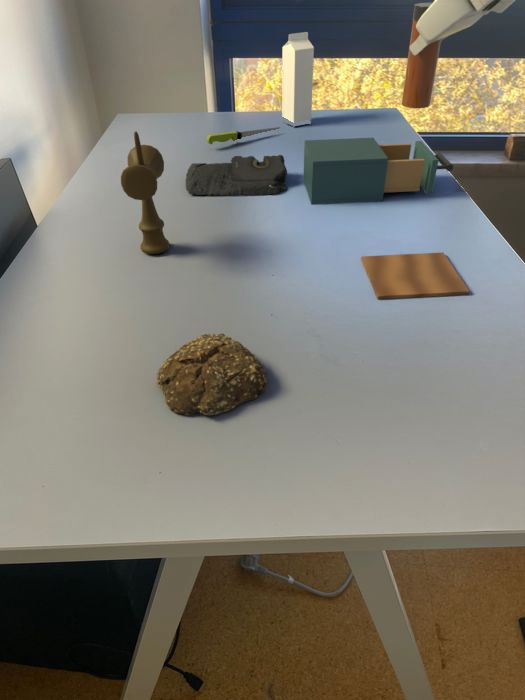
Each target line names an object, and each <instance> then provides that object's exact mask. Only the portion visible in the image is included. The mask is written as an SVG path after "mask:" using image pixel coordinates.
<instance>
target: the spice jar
mask: <svg viewBox="0 0 525 700" xmlns="http://www.w3.org/2000/svg"><path fill="white" fill-rule="evenodd" d="M432 3H433V2H420V3H414V5H413V11H412V23H411V30H410V38H409V40H410V41H409V46H408V53H407V59H406V60H407V61H406V67H405V74H404V75H405V76H404V83H403V91H402V95H401V96H402V98H401V106H402V107H405V108H408V109H426V108H428V107H430V106H431V103H432V98H433V97H432V96H433V91H434V85H435V79H436V73H437V67H438V62H439V57H440V56H439V55H440V49H441V44H442V41H441V39H440V40H437V41H435V42H433V43H431V44H429V45H428V46H427V47H426V48H425V49H424V50H423V51H422V52H421V53H420V54H418V55H413V53H412V52H411V50H410V46H411V45H412V44H413V43H414V42H415V41H416V40H417V38H418V37H419V35H420V33H419V32H418V30H417V28H416V24H417V22H418V20H419V19H420V17H421V16H422V15H423V14H424V12H425V11H426V10H427V9H428V8H429V7H430V5H431V4H432Z"/></svg>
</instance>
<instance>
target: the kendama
mask: <svg viewBox="0 0 525 700" xmlns="http://www.w3.org/2000/svg"><path fill="white" fill-rule="evenodd" d="M133 138H134V147H133V148H131V149H130V150H129V152H128V155H127V166H126V167H125V168H124V169H122V172H121V175H120V185H121V188H122V191H123V192H124V193H125V194H126V196H128V197H129V198H131V199H132V200H136V201H141V221H140V222H139V223H138V229H139V230H140V231H141V233H142V241H141V243H140V251H142V252H143V253H144V254H147V255H158V254H162V253H165V252H166V251H168V250H169V247H170V241H169V240H168V239H167V238H166V236H165V234H164V226H165V222H164V220H163V219H162V218H160V216H159V214H158V211H157V208H156V205H155V203H154V199H153V197H154V196H155V195H156V193H157V191H158V179H160V177H162V175H163V173H164V170H165V161H164V158H163V155H162V154H161V152H160V151H159V149H158V148H156V147H155V146H153V145H148V144H141V140H140V136H139V133H138V131H136V130H135V131H134V132H133Z"/></svg>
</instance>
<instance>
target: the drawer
mask: <svg viewBox="0 0 525 700" xmlns="http://www.w3.org/2000/svg"><path fill="white" fill-rule="evenodd" d="M378 145H379V146H380V148H381V149H382V150H383V152H384V153H385V154H386V156H387V157H388V165H387V172H386V179H385V187H384V194H385V193H404V192H405V193H406V192H407V193H408V192H419V191H420V188H422V190H423V191H424V192H425V194H433V191H434V185H435V180H436V176H437V170H446V172H451V171H453V169H454V165H453V164H452V163H451V161H449V160H448V158H446V156H445V155H444V154H443V153H441V152H437V153H436V154H434V153H433V152H432V151H431V150H430V149H429V148H428V147H427V145H426V144H424V142H423V141H422V140H415V143H414V150H413V155H412V158H411V159H410V157H411V156H410V155H411V149H412V144H411V143H386V144H378ZM439 163H440V164H441V165H439Z"/></svg>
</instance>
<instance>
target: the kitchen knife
mask: <svg viewBox="0 0 525 700" xmlns="http://www.w3.org/2000/svg"><path fill="white" fill-rule="evenodd" d="M280 128H281V126H276V127H270V128H262V129H261V128H260V129H252V130H245V131H238V130H237V131H227V132H221V133H220V132H219V133H212V134H208V135H207V136H206V143H207V144H209V145H213V144H214V143H215V142H218V143H225V142H228V141H230V140H231V141H232V140H233V141H235V140H237V139H241V138H242V137H246V136H251V135H254V134H258V133H262V132H267V131H271V130H276V129H279V130H280Z"/></svg>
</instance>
